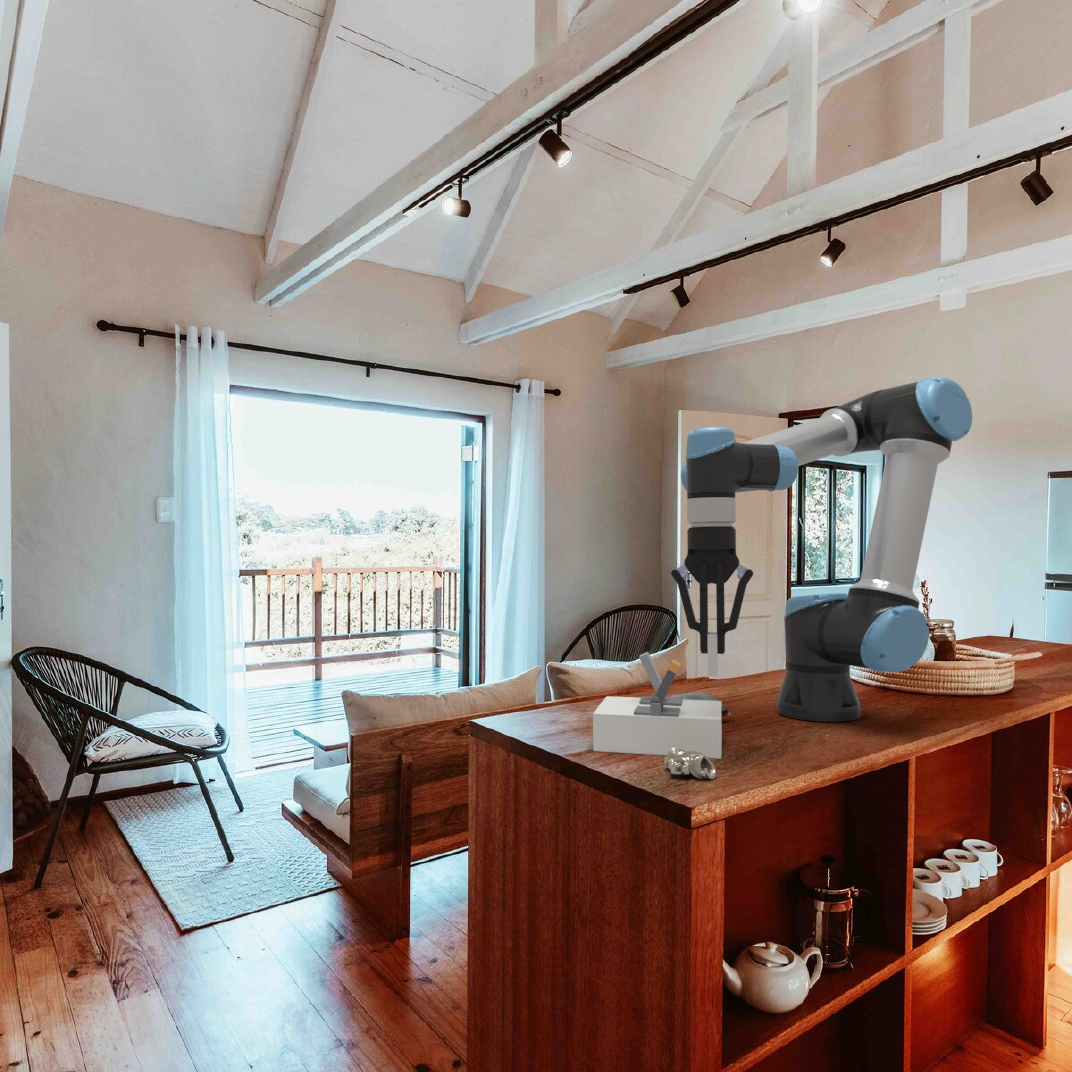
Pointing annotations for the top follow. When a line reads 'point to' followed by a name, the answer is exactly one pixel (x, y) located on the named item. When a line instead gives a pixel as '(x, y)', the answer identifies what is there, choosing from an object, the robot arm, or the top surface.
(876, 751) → the top surface
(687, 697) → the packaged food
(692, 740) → the box
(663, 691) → the lever
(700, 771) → the ornament
